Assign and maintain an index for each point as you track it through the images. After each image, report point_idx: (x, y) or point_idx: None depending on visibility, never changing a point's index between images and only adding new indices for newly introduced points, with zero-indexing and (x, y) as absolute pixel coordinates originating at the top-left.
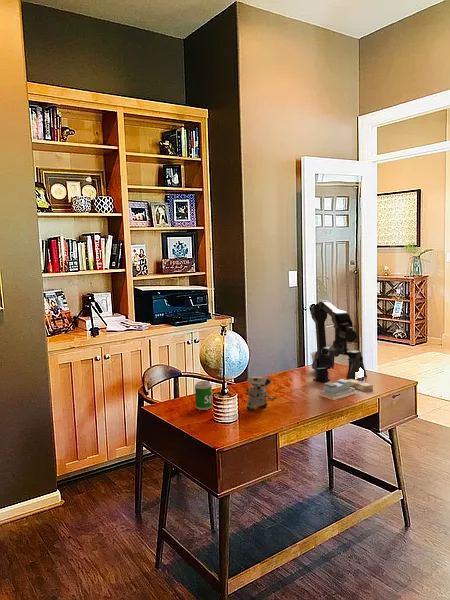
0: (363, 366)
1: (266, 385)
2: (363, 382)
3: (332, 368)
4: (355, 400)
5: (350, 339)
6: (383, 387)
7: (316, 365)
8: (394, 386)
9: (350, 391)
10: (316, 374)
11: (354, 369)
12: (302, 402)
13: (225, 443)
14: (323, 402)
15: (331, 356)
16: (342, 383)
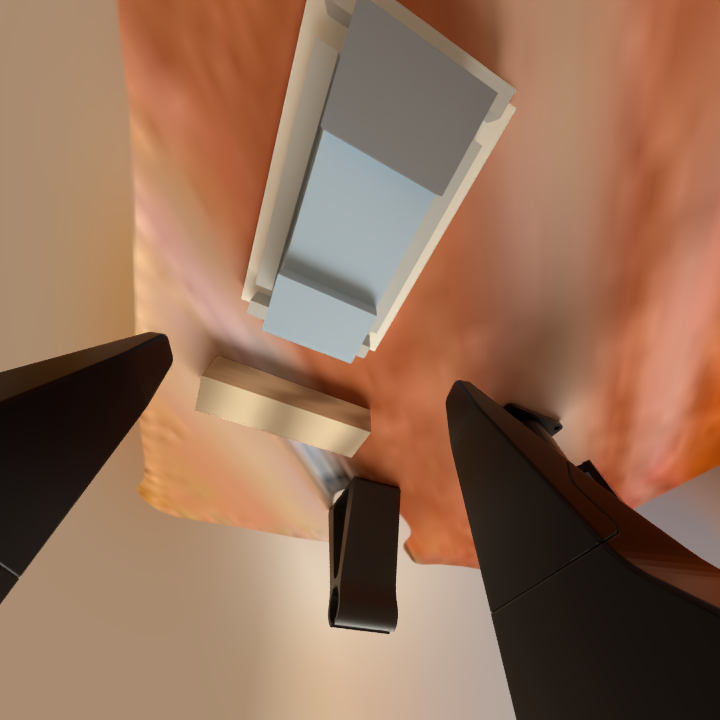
0: (331, 557)
1: None
2: (265, 429)
3: (457, 381)
4: (153, 115)
5: None
6: (197, 437)
7: (615, 494)
8: (170, 460)
9: (261, 265)
10: (559, 448)
11: (365, 531)
12: None
13: None
14: None
15: (605, 654)
16: (317, 282)
